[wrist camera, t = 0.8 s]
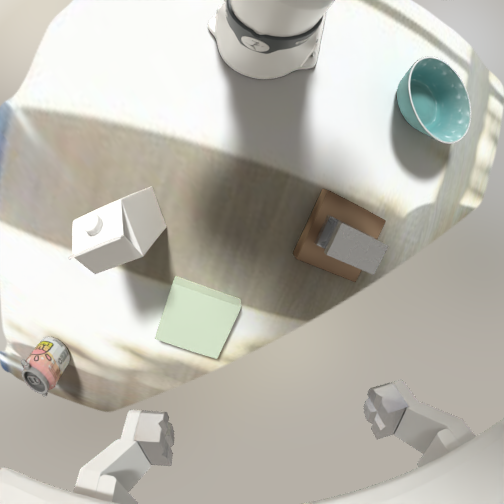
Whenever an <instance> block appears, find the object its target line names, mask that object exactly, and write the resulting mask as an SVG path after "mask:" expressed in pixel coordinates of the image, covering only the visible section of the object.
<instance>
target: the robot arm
mask: <svg viewBox="0 0 504 504" xmlns="http://www.w3.org/2000/svg"><path fill="white" fill-rule="evenodd" d="M334 1H335V0H224V2H225V3H224V4H223V5H222V6H219V7H218V9H217V13H216V14H215V15H214V16H213V17H212V18H211V19H210V21H209V22H208V29H209V30H210V32H211V33H212V34H213V35H214V37H215V38H216V41H217V46H218V50H219V53H220V55H221V57H222V58H223V60H224V61H225V62H226V63H227V64H228V65H229V66H230V67H231V68H232V69H233V70H235V71H237V72H238V73H240V74H242V75H245V76H248V77H251V78H256V79H273V78H278V77H282V76H284V75H287V74H288V73H290V72H292V71H295V70H299V69H310V68H313V67H314V66H315V64H316V62H317V57H318V52H319V47H320V42H321V37H322V32H323V26H324V21H325V16H326V11H327V10H328V8H329V7H330V6H331V5H332V3H333V2H334ZM310 55H312V57H309V56H310ZM368 397H369V398H368V399H367V400H366V401H365V404H364V413H365V417H366V419H367V421H368V422H370V423H372V424H373V425H372V427H371V429H372V431H373V433H374V435H375V437H376V439H380V438H383V437H386V436H390V435H393V434H394V435H395V436H396V437H398V438H399V439H401V440H402V441H404V442H406V443H407V444H409V445H410V446H412V447H413V448H415V449H416V450H418V451H420V452H421V453H423V456H422V457H421V459H420V460H419V461H418V463H417V465H418V468H416V469H414V470H412V471H410V472H407V473H405V474H403V475H400V476H397V477H395V478H392V479H389V480H387V481H384V482H381V483H379V484H375V485H373V486H370V487H367V488H363V489H360V490H357V491H354V492H350V493H347V494H343V495H339V496H335V497H331V498H327V499H323V500H318V501H313V502H309V503H303V504H504V418H503V419H502V420H500V421H499V422H498V423H496V424H495V425H493V426H492V427H490V428H489V429H487V430H486V431H484V432H483V433H481V434H480V435H478V436H475V435H474V434H473V432H472V431H471V429H470V428H469V427H468V425H467V424H466V423H465V421H464V420H463V419H461V418H459V417H457V416H454V415H452V414H449V413H447V412H444V411H442V410H439V409H437V408H435V407H433V406H430V405H428V404H425V403H423V402H421V403H419V401H418V400H417V399H416V397H415V396H414V395H413V393H412V392H411V390H410V389H409V388H408V386H407V385H406V384H405V383H404V381H403V380H398V381H394V382H391V383H387V384H384V385H380V386H376V387H373V388H370V389H369V391H368ZM168 420H169V416H168V414H167V412H158V411H143V410H130V411H129V412H128V414H127V418H126V421H125V425H124V428H123V432H122V436H121V439H117V440H116V441H115V442H113V443H112V444H111V445H109V446H108V447H107V448H106V449H105V450H103V451H102V452H101V453H100V454H98V455H97V456H96V457H95V458H93V459H92V460H91V461H90V462H89V463H87V464H86V465H84V466H83V467H82V468H81V469H80V472H79V476H78V478H77V482H76V485H75V488H74V492H70V491H67V490H64V489H61V488H57V487H55V486H52V485H49V484H46V483H44V482H41V481H38V480H36V479H33V478H31V477H29V476H26V475H24V474H22V473H19V472H17V471H15V470H13V469H10V468H7V467H3V468H0V504H138V502H137V501H136V500H135V499H134V498H133V497H132V496H131V495H130V494H129V493H128V492H129V491H130V490H131V489H132V488H133V486H134V485H135V484H136V483H137V482H138V481H139V480H140V479H141V477H142V476H143V475H144V474H145V473H146V472H147V470H148V469H149V468H150V467H151V465H164V466H171V465H172V454H173V453H172V450H171V448H170V447H172V446H173V445H174V430H173V427H172V424H171V423H169V422H168Z"/></svg>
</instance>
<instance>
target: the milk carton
mask: <svg viewBox="0 0 504 504" xmlns="http://www.w3.org/2000/svg"><path fill="white" fill-rule="evenodd" d="M166 227H167V226H166V224H165V221H164V218H163V216H162V213H161V210H160V207H159V205H158V202H157V199H156V196H155V193H154V190H153V188H152V187H149V188H146V189H143V190H141V191H138V192H136V193H133V194H131V195H129V196H126V197H124V198H121V199H119V200H117V201H114V202H112V203H110V204H107V205H105V206H103V207H101V208H99V209H96V210H94V211H92V212H90V213H88V214H85V215H83V216H81V217H79V218H77V219H75V220H74V221H73V230H72V256H70V257H69V258H68V259H72V258H76V259H77V260H78V261H79V262H80V263H82V264H83V265H84V266H85V267H87V268H88V269H89V270H91V271H92V272H93V273H94V274H96V273H99V272H102V271H105V270H108V269H110V268H113V267H116V266H119V265H122V264H124V263H127V262H130V261H133V260H136V259H138V258H141V257H143V256H144V255H145V253H146V252H147V251H148V250H149V248H150V247H151V246H152V245H153V243H154V242H155V241H156V239H157V238H158V237H159V236H160V235H161V233H162V232H163V231H164V230H165V228H166Z"/></svg>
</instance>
